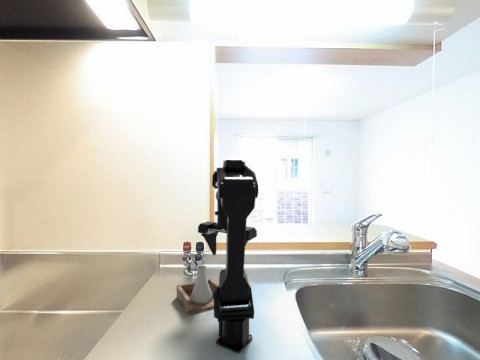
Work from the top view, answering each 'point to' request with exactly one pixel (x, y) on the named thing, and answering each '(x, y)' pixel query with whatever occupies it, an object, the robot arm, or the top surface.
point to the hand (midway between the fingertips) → (226, 257)
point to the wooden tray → (185, 294)
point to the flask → (201, 287)
